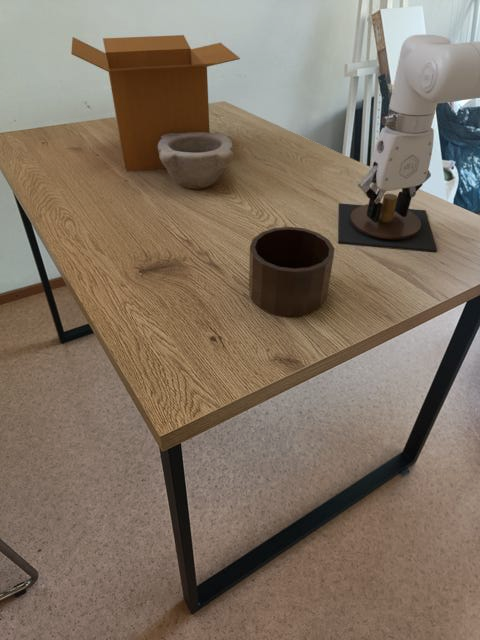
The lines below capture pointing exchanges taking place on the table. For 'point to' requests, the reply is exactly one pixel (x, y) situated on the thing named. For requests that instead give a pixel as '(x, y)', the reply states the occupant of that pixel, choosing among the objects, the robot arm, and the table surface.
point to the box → (155, 89)
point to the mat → (356, 237)
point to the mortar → (195, 157)
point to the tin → (290, 271)
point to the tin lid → (386, 221)
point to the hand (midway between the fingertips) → (386, 215)
